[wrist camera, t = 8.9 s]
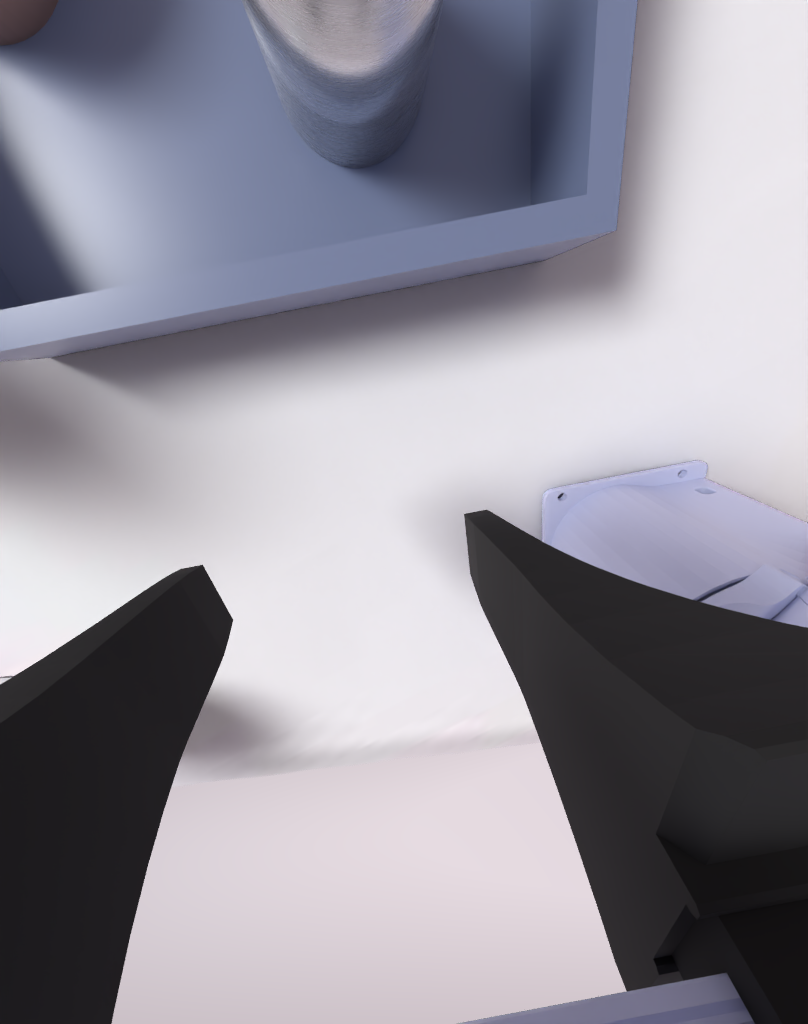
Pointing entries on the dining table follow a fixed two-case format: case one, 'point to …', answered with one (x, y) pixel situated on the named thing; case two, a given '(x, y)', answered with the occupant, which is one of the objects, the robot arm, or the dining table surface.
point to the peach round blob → (23, 19)
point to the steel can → (348, 70)
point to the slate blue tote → (286, 167)
